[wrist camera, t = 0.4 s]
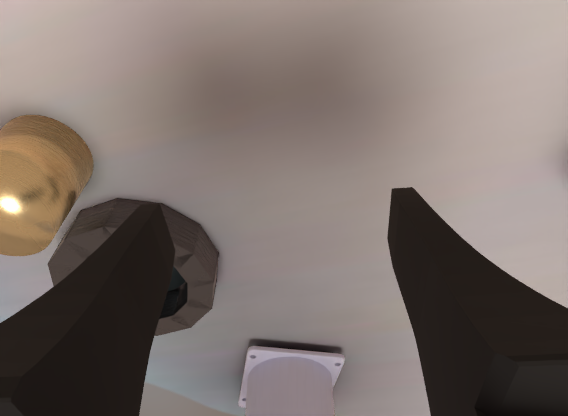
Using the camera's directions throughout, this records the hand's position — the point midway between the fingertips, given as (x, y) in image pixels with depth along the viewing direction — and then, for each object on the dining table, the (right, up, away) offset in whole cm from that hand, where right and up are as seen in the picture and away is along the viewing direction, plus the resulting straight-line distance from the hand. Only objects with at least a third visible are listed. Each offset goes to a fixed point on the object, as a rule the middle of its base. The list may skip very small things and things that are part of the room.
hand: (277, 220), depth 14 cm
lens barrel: (-9, -3, +16) cm, 19 cm away
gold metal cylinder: (-13, +3, +11) cm, 17 cm away
